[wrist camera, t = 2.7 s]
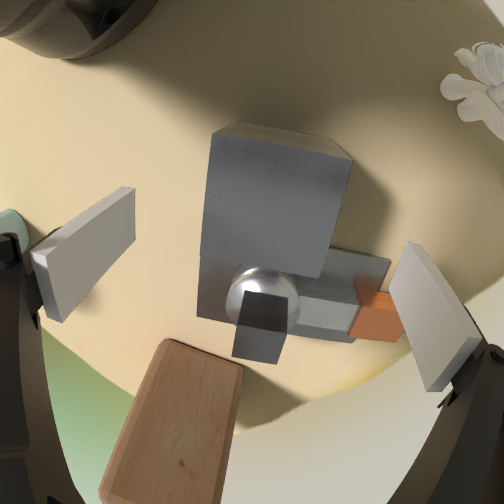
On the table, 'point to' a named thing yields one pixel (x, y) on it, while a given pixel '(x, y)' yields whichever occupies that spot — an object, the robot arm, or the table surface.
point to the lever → (298, 303)
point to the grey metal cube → (272, 198)
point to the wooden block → (176, 431)
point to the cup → (14, 226)
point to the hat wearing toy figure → (479, 87)
